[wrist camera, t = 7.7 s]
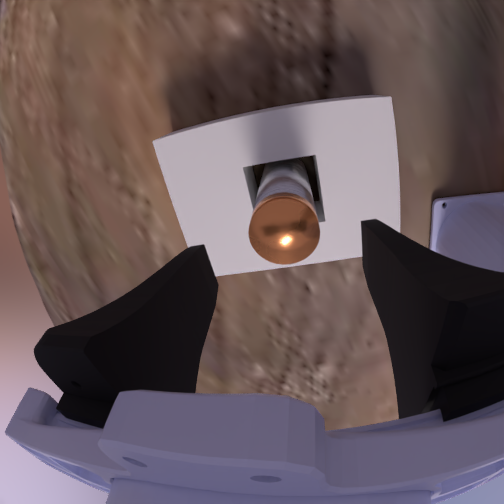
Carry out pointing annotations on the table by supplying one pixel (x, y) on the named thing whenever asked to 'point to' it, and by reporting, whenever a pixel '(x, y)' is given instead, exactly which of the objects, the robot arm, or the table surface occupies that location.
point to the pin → (284, 214)
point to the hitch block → (275, 149)
